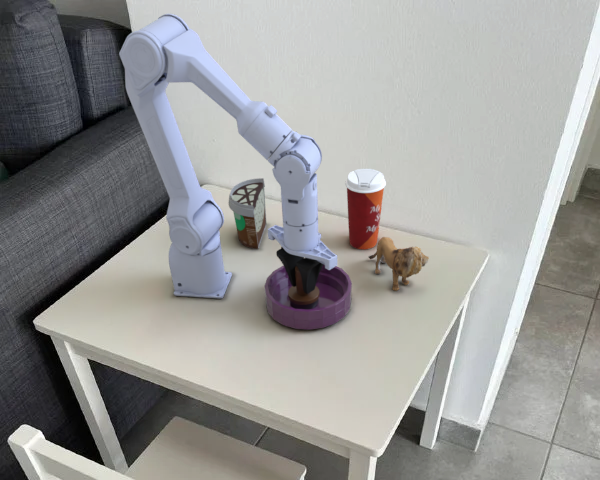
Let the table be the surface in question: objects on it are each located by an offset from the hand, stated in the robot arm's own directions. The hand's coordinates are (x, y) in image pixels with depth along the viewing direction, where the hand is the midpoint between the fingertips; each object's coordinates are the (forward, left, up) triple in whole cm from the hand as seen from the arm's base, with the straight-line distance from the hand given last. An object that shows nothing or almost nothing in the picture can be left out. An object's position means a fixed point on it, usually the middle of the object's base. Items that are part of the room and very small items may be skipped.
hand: (303, 287), depth 110 cm
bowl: (+1, 0, -4) cm, 4 cm away
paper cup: (+9, +22, -4) cm, 24 cm away
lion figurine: (+16, +10, -4) cm, 19 cm away
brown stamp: (0, 0, -3) cm, 3 cm away
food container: (-15, +22, -4) cm, 27 cm away
